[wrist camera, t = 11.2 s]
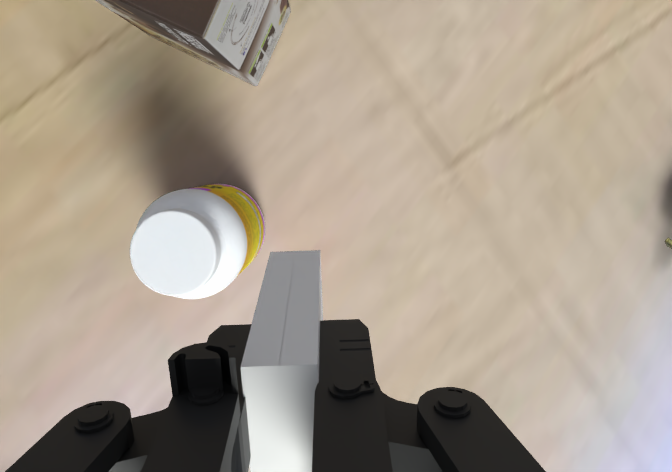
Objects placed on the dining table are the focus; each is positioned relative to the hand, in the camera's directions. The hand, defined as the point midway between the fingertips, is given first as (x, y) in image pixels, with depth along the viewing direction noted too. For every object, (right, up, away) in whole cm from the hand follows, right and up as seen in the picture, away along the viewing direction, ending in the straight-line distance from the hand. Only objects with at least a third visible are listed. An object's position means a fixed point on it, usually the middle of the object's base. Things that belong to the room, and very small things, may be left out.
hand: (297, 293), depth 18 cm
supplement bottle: (-7, +2, +26) cm, 28 cm away
